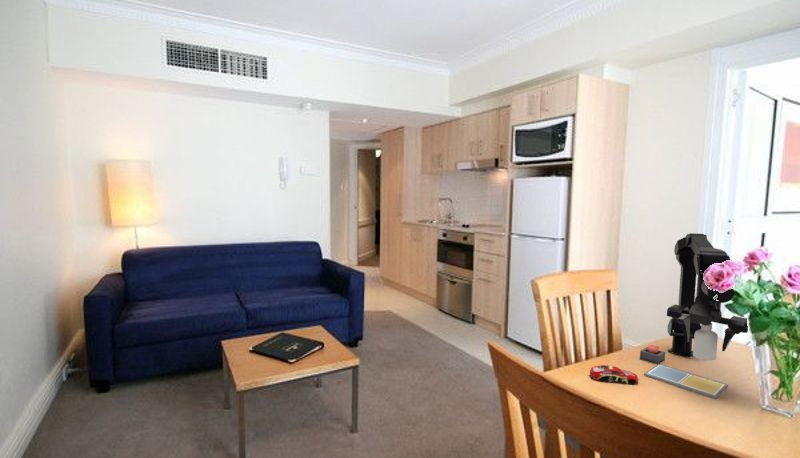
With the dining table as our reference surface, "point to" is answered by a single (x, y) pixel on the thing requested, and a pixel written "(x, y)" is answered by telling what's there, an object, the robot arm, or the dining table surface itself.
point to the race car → (613, 375)
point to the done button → (652, 349)
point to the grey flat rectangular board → (687, 380)
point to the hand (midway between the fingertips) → (704, 346)
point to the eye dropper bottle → (705, 343)
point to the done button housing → (652, 356)
